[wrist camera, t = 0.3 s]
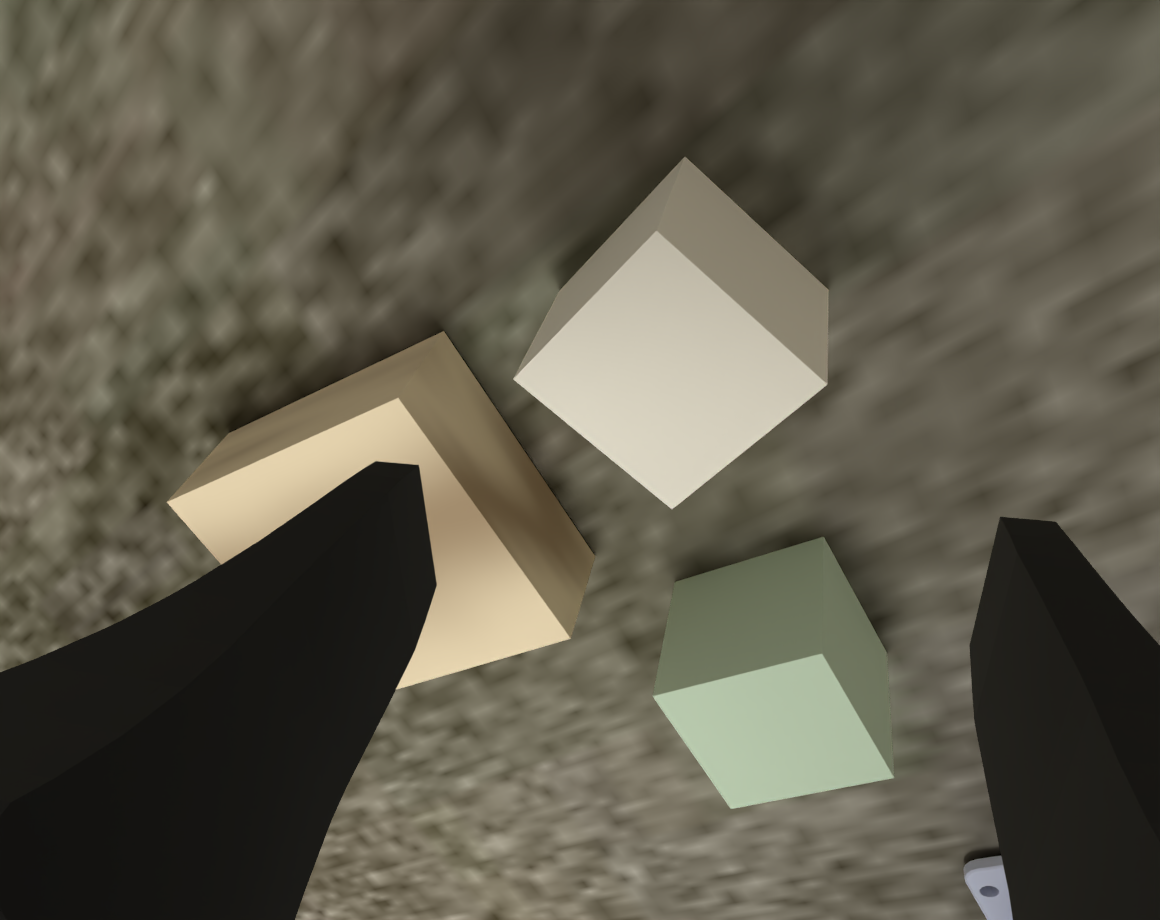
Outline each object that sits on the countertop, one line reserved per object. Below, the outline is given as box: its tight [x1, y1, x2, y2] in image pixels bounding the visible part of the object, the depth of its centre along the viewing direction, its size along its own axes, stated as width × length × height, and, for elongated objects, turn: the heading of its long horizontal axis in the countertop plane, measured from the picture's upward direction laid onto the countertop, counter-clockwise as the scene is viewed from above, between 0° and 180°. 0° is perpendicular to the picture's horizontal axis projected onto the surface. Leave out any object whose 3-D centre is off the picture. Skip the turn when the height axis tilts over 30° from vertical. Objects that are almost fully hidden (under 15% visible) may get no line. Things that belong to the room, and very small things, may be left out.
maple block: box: [167, 331, 595, 689], centre depth 25 cm, size 7×7×3 cm
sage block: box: [653, 537, 894, 809], centre depth 24 cm, size 4×4×4 cm
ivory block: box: [513, 157, 829, 509], centre depth 20 cm, size 4×4×4 cm
